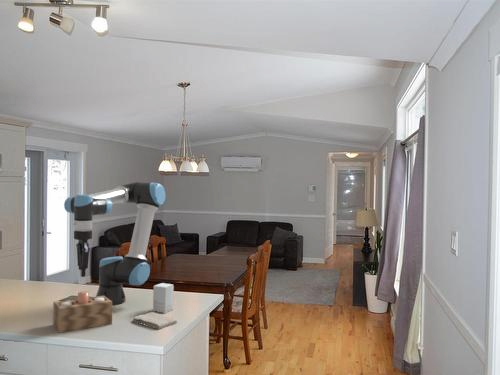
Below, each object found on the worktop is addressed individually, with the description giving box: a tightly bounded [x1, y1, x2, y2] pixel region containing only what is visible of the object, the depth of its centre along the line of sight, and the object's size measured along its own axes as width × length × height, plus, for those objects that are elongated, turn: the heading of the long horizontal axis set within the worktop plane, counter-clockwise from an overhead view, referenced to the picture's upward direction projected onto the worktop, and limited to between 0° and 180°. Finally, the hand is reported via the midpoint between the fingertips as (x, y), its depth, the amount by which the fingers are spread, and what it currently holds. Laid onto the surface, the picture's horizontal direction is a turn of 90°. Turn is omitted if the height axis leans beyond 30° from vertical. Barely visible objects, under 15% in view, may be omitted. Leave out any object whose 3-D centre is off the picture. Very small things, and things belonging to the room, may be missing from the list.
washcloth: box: [132, 311, 178, 330], centre depth 205 cm, size 12×18×3 cm, turn 56°
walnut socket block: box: [52, 296, 113, 333], centre depth 200 cm, size 22×12×10 cm, turn 125°
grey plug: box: [61, 302, 72, 306], centre depth 196 cm, size 4×4×9 cm
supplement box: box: [152, 282, 175, 314], centre depth 224 cm, size 7×7×13 cm
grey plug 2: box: [94, 298, 104, 302], centre depth 204 cm, size 4×4×9 cm
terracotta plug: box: [77, 290, 90, 304], centre depth 200 cm, size 4×4×9 cm
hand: (82, 283), depth 199 cm, fingers closed
